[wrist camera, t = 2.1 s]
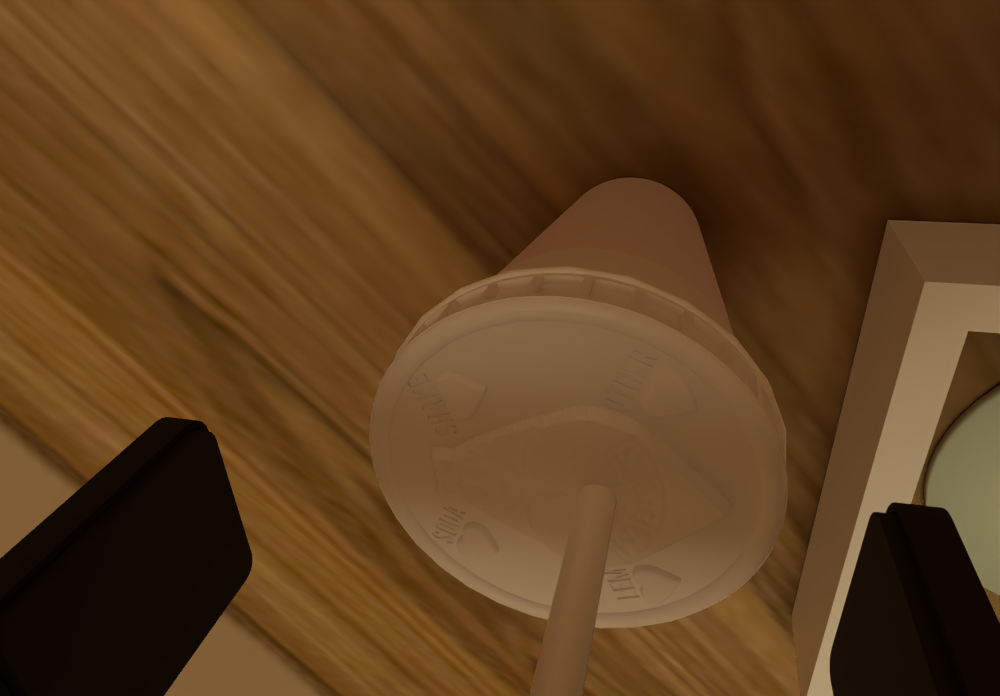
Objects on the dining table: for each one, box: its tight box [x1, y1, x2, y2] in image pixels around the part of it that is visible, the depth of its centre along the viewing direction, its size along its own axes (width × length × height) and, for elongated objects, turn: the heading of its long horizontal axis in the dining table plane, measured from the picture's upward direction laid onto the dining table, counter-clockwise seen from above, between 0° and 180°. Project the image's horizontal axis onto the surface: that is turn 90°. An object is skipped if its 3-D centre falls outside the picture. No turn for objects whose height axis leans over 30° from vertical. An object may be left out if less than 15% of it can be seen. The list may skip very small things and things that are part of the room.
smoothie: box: [369, 177, 788, 696], centre depth 12 cm, size 6×6×14 cm
